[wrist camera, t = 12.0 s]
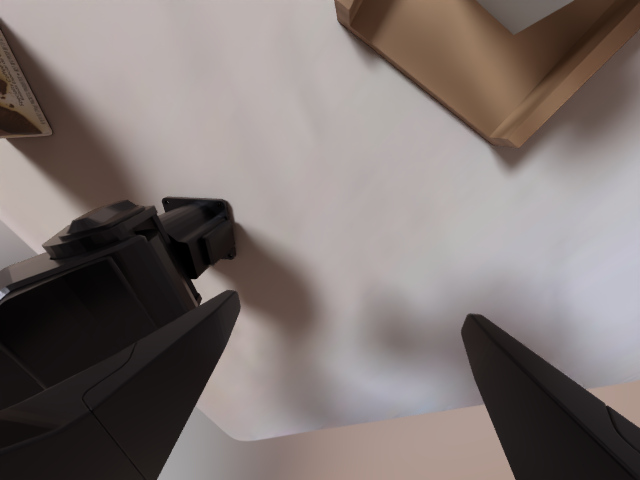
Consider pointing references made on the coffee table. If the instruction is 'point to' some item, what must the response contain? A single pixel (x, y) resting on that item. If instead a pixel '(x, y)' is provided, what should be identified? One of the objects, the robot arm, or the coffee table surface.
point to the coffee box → (17, 100)
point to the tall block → (521, 11)
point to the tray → (493, 55)
